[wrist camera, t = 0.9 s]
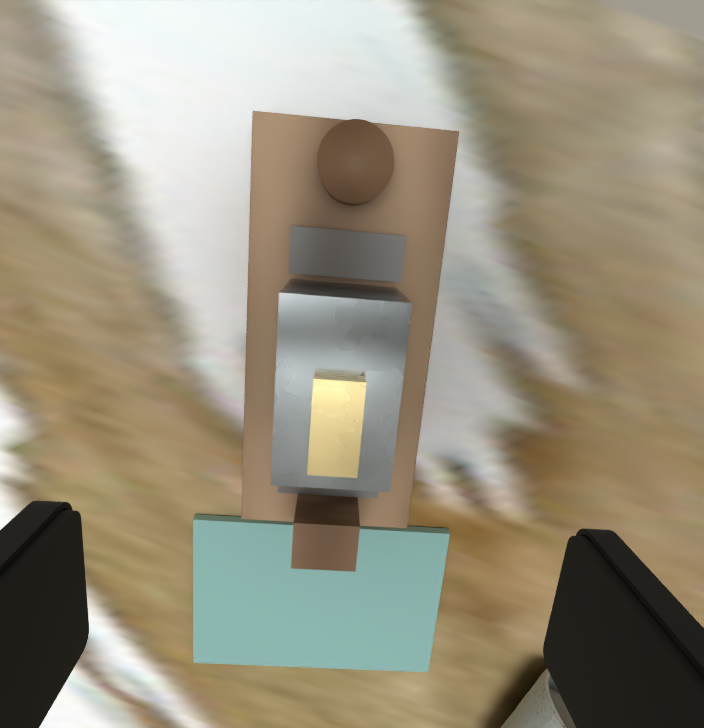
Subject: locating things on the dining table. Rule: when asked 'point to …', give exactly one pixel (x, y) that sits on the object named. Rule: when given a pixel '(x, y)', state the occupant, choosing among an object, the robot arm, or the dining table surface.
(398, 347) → the lever cap
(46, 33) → the dining table surface
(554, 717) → the ceramic mug
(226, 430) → the dining table surface
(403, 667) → the mat
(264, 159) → the plane body
